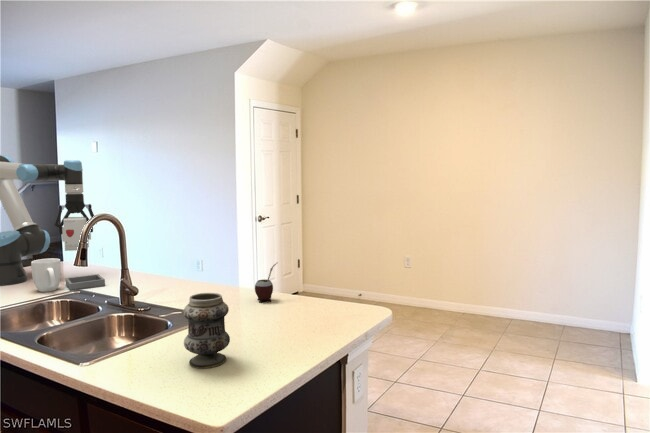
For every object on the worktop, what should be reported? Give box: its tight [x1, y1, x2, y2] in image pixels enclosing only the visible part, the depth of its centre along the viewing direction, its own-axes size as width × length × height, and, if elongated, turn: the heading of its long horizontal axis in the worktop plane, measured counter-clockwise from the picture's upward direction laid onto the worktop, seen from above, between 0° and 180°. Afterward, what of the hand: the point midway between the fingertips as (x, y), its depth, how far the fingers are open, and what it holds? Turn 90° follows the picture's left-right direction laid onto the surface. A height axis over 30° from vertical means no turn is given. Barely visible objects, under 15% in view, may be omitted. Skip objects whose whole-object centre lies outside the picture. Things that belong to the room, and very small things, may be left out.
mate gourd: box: [254, 261, 278, 304], centre depth 189 cm, size 8×8×15 cm
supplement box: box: [62, 216, 90, 252], centre depth 228 cm, size 9×9×15 cm
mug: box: [30, 257, 62, 293], centre depth 208 cm, size 15×11×13 cm
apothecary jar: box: [182, 292, 231, 369], centre depth 130 cm, size 12×12×18 cm
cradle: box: [64, 273, 106, 292], centre depth 218 cm, size 14×14×3 cm
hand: (76, 240), depth 229 cm, fingers closed on supplement box, 10 cm apart
